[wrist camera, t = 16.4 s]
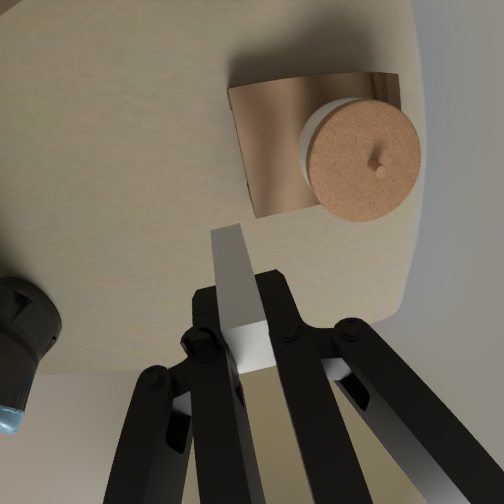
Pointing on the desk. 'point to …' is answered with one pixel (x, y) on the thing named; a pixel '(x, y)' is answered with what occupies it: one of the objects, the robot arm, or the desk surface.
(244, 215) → the desk surface
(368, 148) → the lidded jar
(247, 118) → the wooden stand
